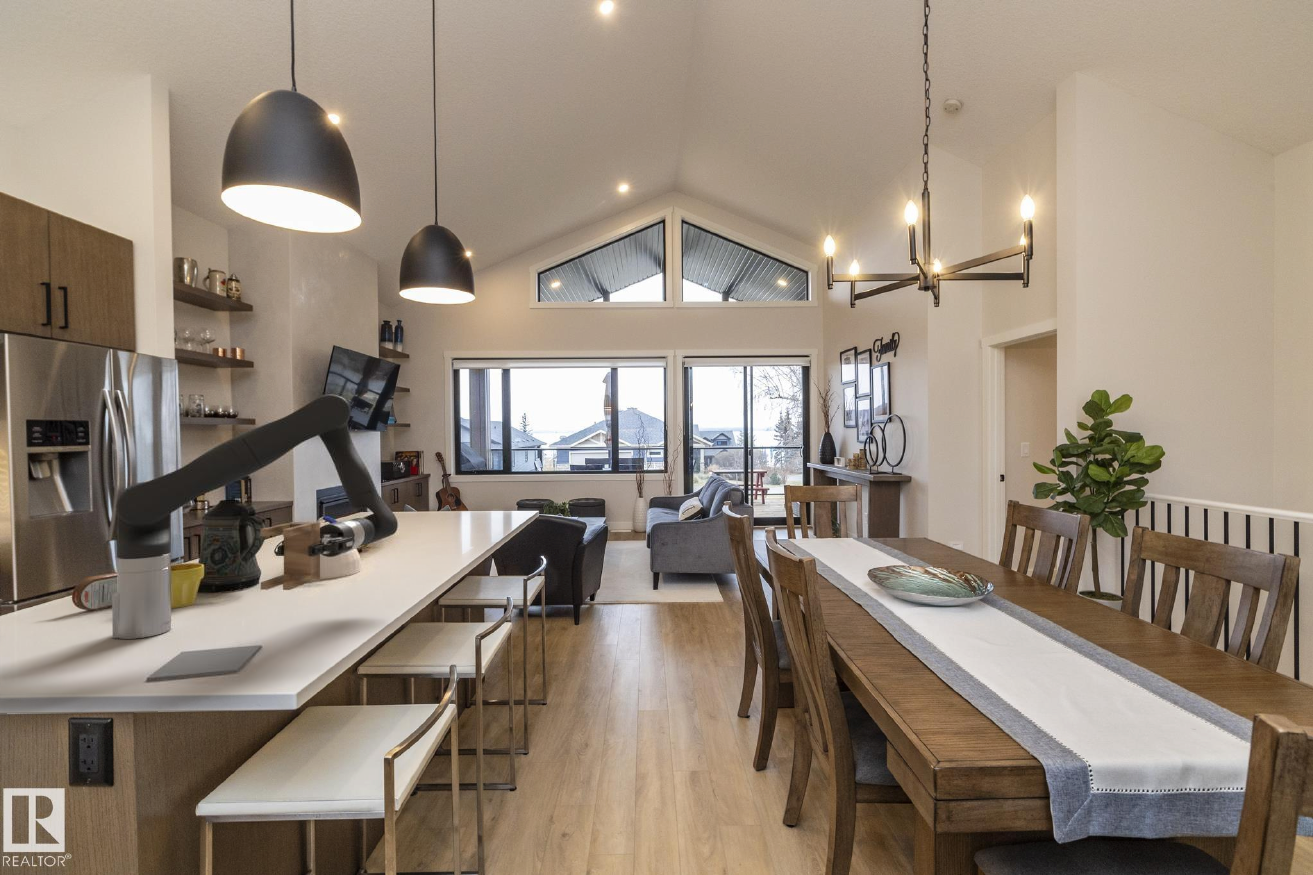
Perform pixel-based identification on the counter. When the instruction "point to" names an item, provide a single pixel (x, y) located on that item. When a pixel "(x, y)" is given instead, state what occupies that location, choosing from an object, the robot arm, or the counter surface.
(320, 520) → the kettle
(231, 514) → the beer stein
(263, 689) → the counter surface
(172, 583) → the plant pot
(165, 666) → the mat
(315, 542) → the stool
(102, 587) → the tin
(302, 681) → the counter surface
